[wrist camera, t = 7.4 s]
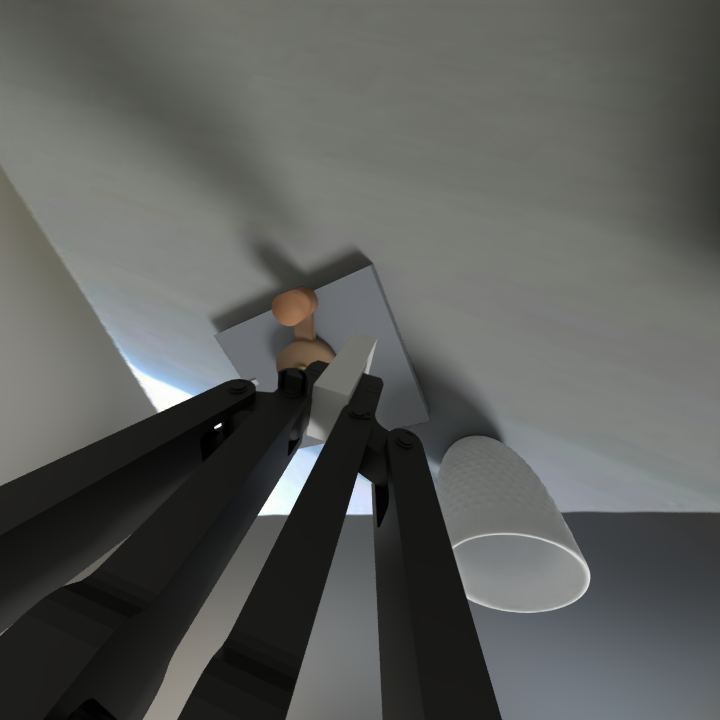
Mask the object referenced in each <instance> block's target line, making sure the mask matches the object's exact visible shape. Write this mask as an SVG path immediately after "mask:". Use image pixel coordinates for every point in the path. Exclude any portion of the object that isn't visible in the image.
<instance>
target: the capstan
mask: <svg viewBox="0 0 720 720" xmlns="http://www.w3.org/2000/svg"><path fill="white" fill-rule="evenodd" d="M317 306H318V298H317V296H316V294H315V292H314V291H313V290H312V289H310V288H308V287H305V286H301V287H298V288H295V289H293V290H290V291H288V292H285V293H283V294H280V295H278V296H276V297H275V298H274V300H273V302H272V313H273V315H274V317H275V318H276V320H277V321H278V322H280V323H281V324H283V325H285V326H293V325H294V332H295V339H296V340H294V341H293V342H291V343H290V344H289V345H288V346H286V347H285V348H284V349H283V350H282V351H281V352H280V354H279V355H278V358H277V362H276V369H277V374H278V372H279V371H280V370H282V369H285V368H299V369H302V370H305V369H306V368H307V367H308V365H309V364H310V363H312V362H315V361H317V360H320V361H323V362H326V363H331V362H332V360H333V359H334V358H335V356H336V353H335V352H334V350H333V349H332V348H331V347H330V346H329V345H328V344H327V343H325V342H324V341H322V340H320V339H317V338H316V336H315V326H314V315H313V312H314V311H315V310H316V309H317Z"/></svg>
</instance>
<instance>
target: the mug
mask: <svg viewBox="0 0 720 720" xmlns="http://www.w3.org/2000/svg"><path fill="white" fill-rule="evenodd" d="M436 494H437V497H438V501H439V504H440V507H441V511H442V514H443V518H444V521H445V525H446V528H447V532H448V535H449V539H450V542H451V546H452V549H453V552H454V556H455V559H456V563H457V566H458V570H459V573H460V577H461V580H462V584H463V587H464V590H465V594H466V597H467V599H469V600H471V601H473V602H476V603H478V604H480V605H483V606H486V607H490V608H494V609H498V610H503V611H510V612H521V613H527V612H528V613H531V612H542V611H550V610H554V609H558V608H560V607H564V606H566V605H568V604H571V603H573V602H575V601H576V600H577V599H579V598H580V597H582V595H583V594H584V593H585V591H586V590H587V588H588V586H589V583H590V572H589V568H588V566H587V563H586V561H585V559H584V557H583V555H582V554H581V551H580V550H579V548H578V546H577V544H576V542H575V540H574V538H573V536H572V533H571V531H570V530H569V527H568V526H567V524H566V523H565V521H564V519H563V517H562V515H561V513H560V511H559V510H558V508H557V507H556V505H555V502H554V500H553V499H552V497H551V496H550V495H549V493H548V491H547V489H546V487H545V486H544V485H543V483H542V482H541V480H540V478H539V477H538V476H537V475H536V474H535V473H534V471H533V470H532V468H531V467H530V466H529V465H528V464H527V463H526V462H525V460H523V459H522V458H521V457H520V456H519V455H518V454H517V453H516V452H515V451H513V450H512V449H511V448H510V447H508V446H506V445H505V444H503V443H501V442H499V441H497V440H495V439H493V438H490V437H486V436H468V437H465V438H462V439H460V440H458V441H456V442H455V443H454V444H453V445H452V446H451V447H450V448H449V449H448V451H447V452H446V454H445V455H444V458H443V459H442V463H441V465H440V470H439V473H438V479H437V487H436Z"/></svg>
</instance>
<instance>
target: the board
mask: <svg viewBox="0 0 720 720" xmlns="http://www.w3.org/2000/svg"><path fill="white" fill-rule="evenodd" d="M313 291H314V292H315V294H316V296H317V298H318V306H317V309H316V310H315V311H314V312H313V315H314V326H315V336H316V338H317V339H320V340H322V341H324V342H325V343H327V344H328V345H329V346H330V347H331V348H332V349H333V350H334V352H335V353H336V355H337V354H338V353H339V351H340V350H341V349H342V348H343V346H344V345H345V344H346V342H347V341H348V340H349V339H350V337H351V336H352V335H353V333H358V334H361V335H365V336H369V337H372V338H376V339H377V342H376V346H375V350H374V354H373V358H372V362H371V365H370V369H369V373H368V374H369V375H373V376H376V377H379V378H382V381H383V383H384V385H383V389H382V392H381V396H380V399H379V403H378V406H377V409H376V413H375V417H376V420H377V421H378V423H379V424H380V425H381V426H382V427H383V428H385V429H386V430H390V429H395V428H399V427H404V426H409V425H414V424H418V423H423V422H428V421H430V413H429V409H428V406H427V403H426V401H425V398H424V395H423V393H422V390H421V388H420V385H419V382H418V380H417V377H416V374H415V372H414V369H413V367H412V364H411V361H410V359H409V356H408V353H407V351H406V348H405V346H404V343H403V340H402V338H401V335H400V332H399V330H398V327H397V325H396V322H395V319H394V317H393V314H392V311H391V309H390V306H389V304H388V301H387V298H386V296H385V293H384V290H383V288H382V285H381V283H380V280H379V277H378V275H377V272H376V269H375V267H374V264H371V265H369V266H367V267H365V268H362V269H360V270H358V271H356V272H354V273H351V274H349V275H347V276H345V277H342V278H340V279H338V280H336V281H334V282H331V283H329V284H327V285H325V286H322V287H320V288H318V289H316V290H313ZM214 337H215V338H216V340H217V341H218V343H219V344H220V346H221V347H222V349H223V351H224V352H225V354H226V355H227V357H228V358H229V360H230V361H231V363H232V365H233V366H234V368H235V369H236V371H237V372H238V374H239V375H240V377H241V379H244V380H248V381H251V382H253V383H254V384H255V386H256V391H261V392H274V391H275V390H276V389H277V388H278V374H277V369H276V362H277V358H278V355H279V354H280V352H281V351H282V350H283V349H284V348H285V347H286V346H288V345H289V344H290V343H291V342H293V341H294V340H296V339H295V332H294V325H293V326H285V325H283V324H281V323H280V322H278V321H277V320H276V318H275V317H274V315H273V313H272V309H271V310H269V311H267V312H264V313H262V314H260V315H258V316H256V317H253V318H251V319H249V320H247V321H244V322H242V323H240V324H238V325H236V326H233V327H231V328H229V329H227V330H224V331H222V332H220V333H218V334H216V335H214ZM307 428H308V427H307ZM307 428H306V430H305V432H304V433H303V439H302V443H301V445H300V446H299V448H298V449H300V448H304V447H309V446H314V445H319V444H323V443H326V441H323V440H320V439H317V438H314V437H311V436H308V435H307Z"/></svg>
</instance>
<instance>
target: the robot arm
mask: <svg viewBox="0 0 720 720" xmlns="http://www.w3.org/2000/svg"><path fill="white" fill-rule="evenodd" d="M376 342H377V339H376V338H372V337H369V336H365V335H361V334H358V333H353V335H352V336H351V337H350V339H349V340H348V341H347V342H346V344H345V345H344V346H343V348H342V349H341V350H340V351H339V353H338V354H337V355H336V356H335V358H334V359H333V360H332V362H331V363H326V362H323V361H320V360H317V361H315V362H312V363H310V364H309V365H308V367H307V368H306V369H305V370H302V369H299V368H285V369H282V370H280V371H279V372H278V388H277V389H276V390H275V391H274V392H261V391H256V386H255V384H254V383H253V382H251V381H248V380H244V379H235V380H230V381H227V382H225V383H223V384H220V385H218V386H216V387H214V388H212V389H210V390H207V391H205V392H203V393H201V394H199V395H197V396H194V397H192V398H190V399H188V400H186V401H184V402H181V403H179V404H177V405H175V406H173V407H171V408H168V409H166V410H164V411H162V412H160V413H158V414H156V415H153V416H151V417H149V418H147V419H145V420H143V421H141V422H138V423H136V424H134V425H132V426H129V427H127V428H125V429H123V430H121V431H119V432H116V433H114V434H112V435H110V436H108V437H106V438H103V439H101V440H99V441H97V442H95V443H93V444H90V445H88V446H86V447H84V448H82V449H80V450H77V451H75V452H73V453H71V454H69V455H67V456H65V457H62V458H60V459H58V460H56V461H54V462H52V463H49V464H47V465H45V466H43V467H41V468H39V469H36V470H34V471H32V472H30V473H28V474H26V475H23V476H21V477H19V478H17V479H15V480H13V481H11V482H8V483H6V484H4V485H2V486H0V633H1V632H3V631H4V630H6V629H7V628H8V627H9V626H11V625H12V624H13V623H14V624H13V625H12V626H11V627H9V628H8V630H6V631H5V632H4V633H3V634H2V635H1V636H0V720H142V719H143V718H144V716H145V714H146V713H147V711H148V709H149V707H150V705H151V704H152V702H153V700H154V698H155V696H156V694H157V693H158V690H159V688H160V686H161V684H162V682H163V679H164V677H165V674H166V671H167V668H168V665H169V662H170V660H171V658H172V656H173V654H174V652H175V650H176V649H177V647H178V645H179V644H180V642H181V640H182V639H183V637H184V635H185V634H186V632H187V630H188V629H189V627H190V625H191V624H192V622H193V621H194V619H195V617H196V616H197V614H198V612H199V611H200V609H201V607H202V606H203V604H204V602H205V601H206V599H207V598H208V596H209V594H210V593H211V591H212V589H213V588H214V586H215V584H216V583H217V581H218V579H219V578H220V576H221V574H222V573H223V571H224V570H225V568H226V566H227V564H228V563H229V561H230V560H231V558H232V556H233V555H234V553H235V551H236V550H237V548H238V547H239V545H240V543H241V542H242V540H243V538H244V537H245V535H246V533H247V532H248V530H249V529H250V527H251V525H252V524H253V522H254V520H255V519H256V517H257V515H258V514H259V512H260V510H261V509H262V507H263V506H264V504H265V502H266V501H267V499H268V497H269V496H270V494H271V492H272V491H273V489H274V487H275V486H276V484H277V483H278V481H279V479H280V478H281V476H282V474H283V473H284V471H285V469H286V468H287V466H288V464H289V463H290V461H291V460H292V458H293V456H294V455H295V453H296V451H297V450H298V448H299V446H300V445H301V443H302V439H303V433H304V432H305V430H306V428H307V427H308V428H307V435H308V436H311V437H314V438H317V439H320V440H323V441H326V443H325V445H324V447H323V449H322V451H321V453H320V455H319V457H318V459H317V461H316V463H315V465H314V467H313V469H312V471H311V473H310V475H309V477H308V479H307V481H306V483H305V485H304V487H303V489H302V490H301V492H300V494H299V496H298V498H297V500H296V502H295V504H294V506H293V508H292V510H291V512H290V514H289V516H288V519H287V521H286V522H285V525H284V527H283V529H282V530H281V532H280V534H279V536H278V539H277V540H276V543H275V545H274V547H273V549H272V550H271V552H270V555H269V556H268V558H267V560H266V562H265V564H264V567H263V568H262V571H261V572H260V574H259V577H258V578H257V580H256V583H255V585H254V586H253V588H252V591H251V592H250V595H249V596H248V599H247V601H246V602H245V605H244V606H243V608H242V610H241V613H240V614H239V617H238V618H237V620H236V623H235V624H234V626H233V629H232V630H231V632H230V634H229V636H228V638H227V639H226V641H225V642H224V644H223V645H222V647H221V648H220V649H219V650H218V651H217V652H216V654H215V655H214V656H213V657H212V658H211V660H210V662H209V663H208V665H207V666H206V668H205V669H204V671H203V673H202V674H201V676H200V678H199V680H198V682H197V684H196V685H195V687H194V689H193V691H192V693H191V694H190V696H189V698H188V700H187V702H186V704H185V706H184V708H183V710H182V712H181V714H180V716H179V717H178V719H177V720H285V719H286V716H287V712H288V709H289V706H290V702H291V699H292V696H293V692H294V689H295V685H296V682H297V679H298V675H299V672H300V668H301V665H302V661H303V658H304V655H305V651H306V648H307V645H308V641H309V638H310V634H311V631H312V627H313V624H314V620H315V617H316V613H317V611H318V607H319V604H320V600H321V597H322V594H323V590H324V587H325V583H326V580H327V576H328V573H329V569H330V566H331V563H332V560H333V556H334V553H335V549H336V546H337V543H338V539H339V536H340V532H341V529H342V526H343V522H344V519H345V515H346V512H347V509H348V505H349V502H350V498H351V495H352V492H353V488H354V485H355V481H356V478H357V475H358V473H360V474H361V475H362V476H364V477H365V478H367V479H368V480H369V481H371V482H372V485H371V486H372V507H373V526H374V548H375V567H376V568H375V569H376V590H377V609H378V610H377V611H378V632H379V652H380V673H381V693H382V715H383V720H502V719H501V715H500V712H499V708H498V704H497V702H496V698H495V694H494V691H493V687H492V684H491V680H490V677H489V673H488V670H487V666H486V663H485V660H484V656H483V653H482V649H481V646H480V642H479V639H478V635H477V632H476V628H475V626H474V622H473V618H472V615H471V611H470V608H469V604H468V601H467V597H466V594H465V590H464V587H463V584H462V580H461V577H460V573H459V570H458V566H457V563H456V559H455V556H454V552H453V549H452V546H451V542H450V539H449V535H448V532H447V528H446V525H445V521H444V518H443V514H442V511H441V507H440V504H439V501H438V497H437V494H436V490H435V487H434V483H433V480H432V476H431V473H430V469H429V466H428V463H427V459H426V456H425V452H424V449H423V445H422V443H421V441H420V439H419V438H418V437H417V436H416V435H415V434H414V433H412V432H410V431H409V430H405V429H398V428H396V429H393V430H391V431H388V430H386V429H385V428H383V427H382V426H381V425H380V424H379V423H378V421H377V420H376V417H375V413H376V409H377V406H378V403H379V399H380V396H381V392H382V389H383V385H384V383H383V381H382V378H379V377H376V376H373V375H369V374H368V373H369V369H370V365H371V362H372V358H373V354H374V350H375V346H376ZM220 423H221V424H222V426H221V427H219V428H217V429H214V427H215V426H216V425H218V424H220ZM133 532H134V533H133ZM132 533H133V534H132ZM130 534H132V535H131V536H130V537H129V538H128V539H127V540H126V541H125V542H124V543H123V544H122V545H121V546H120V547H119V548H118V549H117V550H116V551H115V552H114V553H113V554H112V555H111V556H110V557H109V558H108V559H107V560H106V561H105V562H104V563H103V564H102V565H101V566H100V567H99V568H98V569H97V570H95V571H94V572H93V573H92V574H91V575H90V576H88V577H86V578H85V579H83V580H82V581H79V582H76V583H72V584H69V585H66V586H63V585H65V584H66V583H67V582H69V581H70V580H71V579H73V578H74V577H75V576H77V575H78V574H79V573H81V572H82V571H83V570H85V569H86V568H87V567H89V566H90V565H91V564H92V563H94V562H95V561H96V560H98V559H99V558H100V557H102V556H103V555H104V554H106V553H107V552H108V551H110V550H111V549H112V548H114V547H115V546H116V545H117V544H119V543H120V542H121V541H123V540H124V539H125V538H127V537H128V536H129V535H130Z"/></svg>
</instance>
